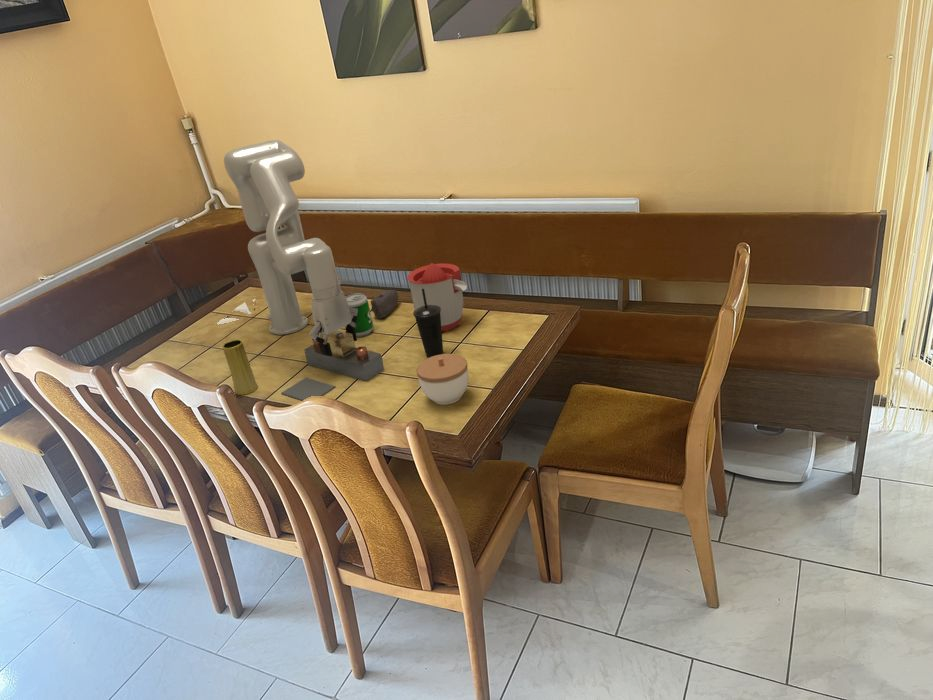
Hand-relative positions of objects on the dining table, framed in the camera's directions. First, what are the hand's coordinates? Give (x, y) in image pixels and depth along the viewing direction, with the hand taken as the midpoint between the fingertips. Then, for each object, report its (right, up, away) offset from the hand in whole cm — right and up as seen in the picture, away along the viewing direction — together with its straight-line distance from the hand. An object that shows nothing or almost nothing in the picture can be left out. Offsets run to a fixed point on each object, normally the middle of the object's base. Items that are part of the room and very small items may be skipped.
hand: (340, 347), depth 201 cm
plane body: (+1, -6, +3) cm, 6 cm away
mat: (-7, -12, -7) cm, 15 cm away
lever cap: (0, -1, +1) cm, 1 cm away
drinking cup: (+26, -2, +2) cm, 26 cm away
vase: (-26, -12, -1) cm, 28 cm away
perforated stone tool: (+9, +12, +35) cm, 38 cm away
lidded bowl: (+30, -13, -20) cm, 39 cm away
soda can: (+3, +5, +23) cm, 23 cm away
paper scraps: (-45, +11, +51) cm, 69 cm away
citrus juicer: (+29, +7, +19) cm, 35 cm away
